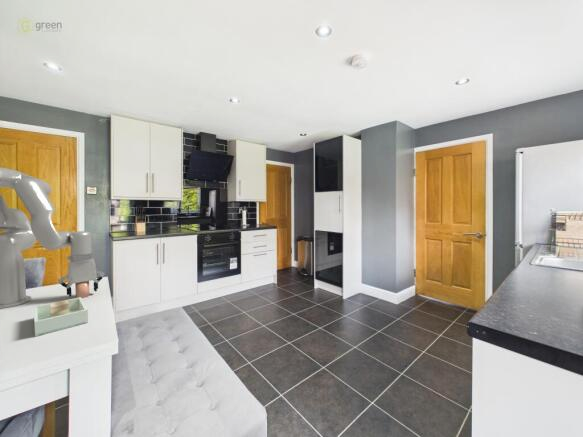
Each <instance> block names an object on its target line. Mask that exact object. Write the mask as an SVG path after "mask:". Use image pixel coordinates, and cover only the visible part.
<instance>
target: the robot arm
mask: <svg viewBox="0 0 583 437" xmlns="http://www.w3.org/2000/svg"><path fill="white" fill-rule="evenodd" d="M0 188H9V189H12V190H14V192H15V194H17V196H18V198H19V199H20V201H21V203H22V204H23V206H24V207H25V209H26V210H27V212H28V214H29V216H30V219H29V218H28V216H27V215H26V214H25V213H24V211H22V210H20V209H19V208H15V207H8V205H7V204H6V201H5V198H4V197H3V195H2V194H1V193H0V231H4V232H1V233H0V308H1V309H7V308H12V307H17V306H19V305H23V304H26V303H28V302H30V301H31V300H32V296H30V295H27V287H26V286H27V285H26V267H25V259H24V256H23V254H22V252H23V251H26V250H29V249H31V248H32V247H33V246H34V245H35V244H36V242H38V243H39V245H41V246H42V247H43V248H44V249H46V250H50V251H56V250H59V249H62V248H63V249H64V248H67V247H70V255H68V256H66V260H69V261H68V267H67V274H65V275H64V276H62V277H60V278H59V279H57V283H58V284H60V286H62V287H64V288H65V289H66V295H67V296H69V297H72V285H73V284H75V283H80V282H86V281H89V282H91V281H93V291H94V292H98V289H99V282H100V281H101V280H102V279H103V277H104V276H105V274H106V273H105V272H103V271H101V270H98V269H97V267H96V266H97V265H96V262H95V259H94V258H93V253H92V252H93V251H92V250H93V248H92V236H91V235H92V233H91V232H90V231H86V230H83V231H81V230H80V231H69V230H63V231H57V229H56V228H55V226H54V223H53V222H52V221H53V220H52V218H53V214H54V213H55V211H56V207H55V205H54V204H53V203H52V201H51V199H50V198H49V195H50V194H51V192H52V187H51V185H50V184H49V183H48V182H47V181H45V180H43V179H40V178H38V177H34V176H31V175H29V174H26V173H23V172H21V171H19V170H15V169H11V168H6V167H1V166H0ZM36 240H37V241H36ZM97 274H98V275H99V276H98V275H97ZM97 276H98V277H97ZM65 280H67V281H68V282H67V283H66V282H65ZM69 297H68V298H69Z"/></svg>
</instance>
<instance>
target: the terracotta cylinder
mask: <svg viewBox="0 0 583 437" xmlns="http://www.w3.org/2000/svg"><path fill="white" fill-rule="evenodd" d="M74 287H75V298H79V297H81V298H82V299H84V298H88V297H89V296H90V281H86V282H80V283H74Z"/></svg>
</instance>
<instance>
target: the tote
mask: <svg viewBox="0 0 583 437" xmlns="http://www.w3.org/2000/svg"><path fill="white" fill-rule="evenodd" d="M65 300H66V299H65ZM65 300H63V301H65ZM67 300H68V303H69V313H68V314H64V315H60V316H55V317H51V311H50V303H46V304H45V303H43V304H40V305H35V306H33V308H34V309H33V314H34V315H33V316H34V317H33V318H34V337H35V338H36V337H40V336H43V335H48V334H51V333H55V332H59V331H63V330H67V329H70V328H74V327H77V326H81V325H85V324H88V323H89V315H88V314H89V312H88V311H89V310H88V308H87V306H86V304H85V302H84V300H83V298H81V297H79V298H76V297H74V298H71V299H67ZM55 302H56V301H55ZM55 302H53V303H55ZM58 302H60V301H58Z"/></svg>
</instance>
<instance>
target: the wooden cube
mask: <svg viewBox="0 0 583 437" xmlns="http://www.w3.org/2000/svg"><path fill="white" fill-rule="evenodd" d="M68 300H69V299H65V301H64V300H61V301H60V302H59V301H55V303H54V302H51V303H50V311H51V317H55V316H60V315H64V314H68V313H69V303H68Z"/></svg>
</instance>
